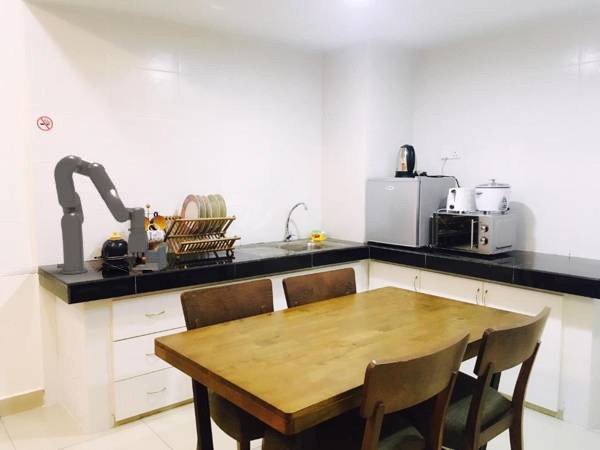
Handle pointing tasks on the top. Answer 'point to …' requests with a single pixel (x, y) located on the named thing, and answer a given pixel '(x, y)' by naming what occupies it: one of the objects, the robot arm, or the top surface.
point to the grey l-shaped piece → (155, 266)
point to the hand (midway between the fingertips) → (139, 264)
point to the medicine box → (151, 256)
